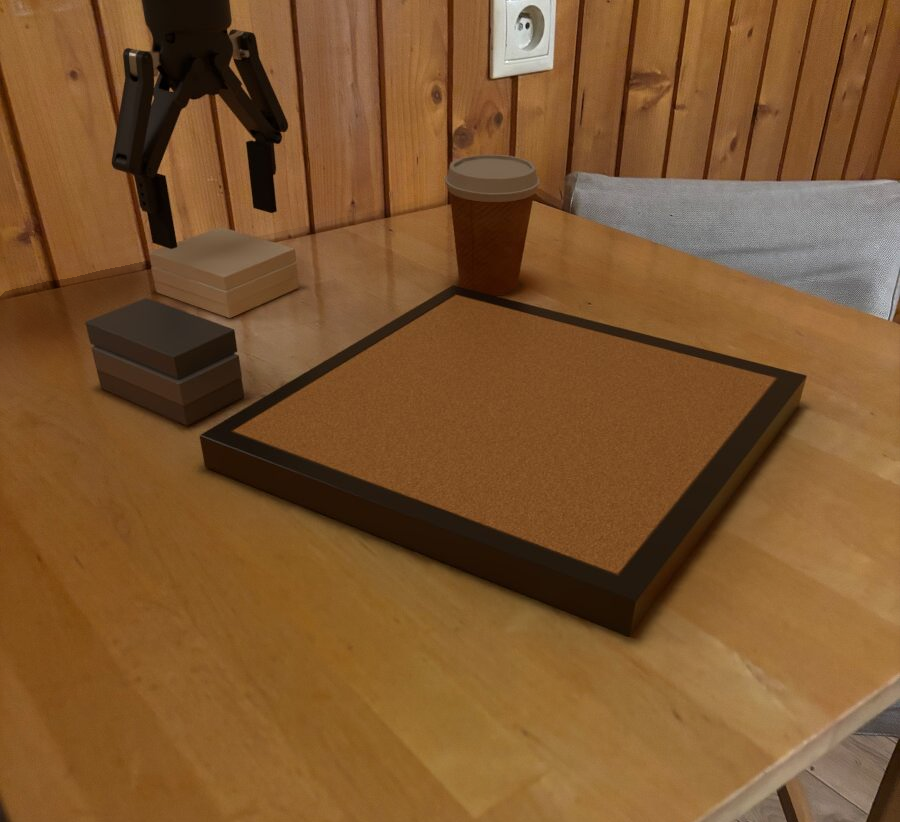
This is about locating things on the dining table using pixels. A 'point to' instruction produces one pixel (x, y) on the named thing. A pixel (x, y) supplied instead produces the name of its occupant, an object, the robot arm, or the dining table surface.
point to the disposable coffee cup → (490, 219)
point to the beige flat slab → (223, 258)
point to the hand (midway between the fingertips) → (217, 227)
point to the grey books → (166, 360)
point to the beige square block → (231, 299)
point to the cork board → (518, 446)
